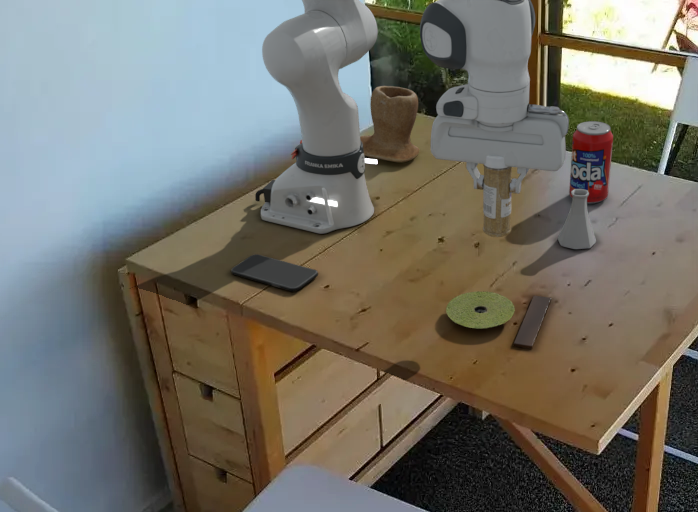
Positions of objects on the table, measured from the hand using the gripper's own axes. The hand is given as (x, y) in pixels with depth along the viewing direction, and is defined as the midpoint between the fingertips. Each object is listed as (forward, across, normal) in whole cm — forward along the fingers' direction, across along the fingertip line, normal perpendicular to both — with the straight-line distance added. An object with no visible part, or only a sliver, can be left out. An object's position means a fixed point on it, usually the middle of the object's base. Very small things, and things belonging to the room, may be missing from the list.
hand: (497, 189), depth 144 cm
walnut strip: (+22, -7, +2) cm, 23 cm away
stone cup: (+22, +39, -57) cm, 73 cm away
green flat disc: (+22, +2, +3) cm, 22 cm away
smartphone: (+22, +41, -1) cm, 46 cm away
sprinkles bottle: (+7, 0, 0) cm, 7 cm away
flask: (+22, -9, -27) cm, 36 cm away
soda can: (+22, -8, -46) cm, 52 cm away
